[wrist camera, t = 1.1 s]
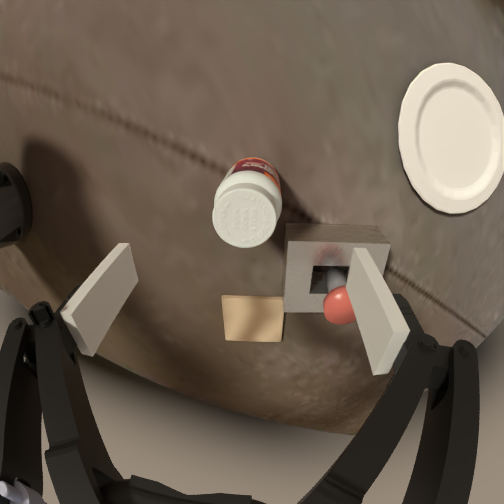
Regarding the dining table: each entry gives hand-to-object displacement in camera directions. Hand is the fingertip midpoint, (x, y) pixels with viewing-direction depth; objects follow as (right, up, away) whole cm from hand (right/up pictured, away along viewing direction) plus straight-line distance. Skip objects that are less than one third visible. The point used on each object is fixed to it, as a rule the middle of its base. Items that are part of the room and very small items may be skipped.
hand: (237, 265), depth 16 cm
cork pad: (+1, -10, +26) cm, 28 cm away
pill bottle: (+1, +9, +16) cm, 18 cm away
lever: (+11, -2, +17) cm, 20 cm away
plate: (+28, +16, +11) cm, 34 cm away
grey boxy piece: (+11, 0, +20) cm, 23 cm away
